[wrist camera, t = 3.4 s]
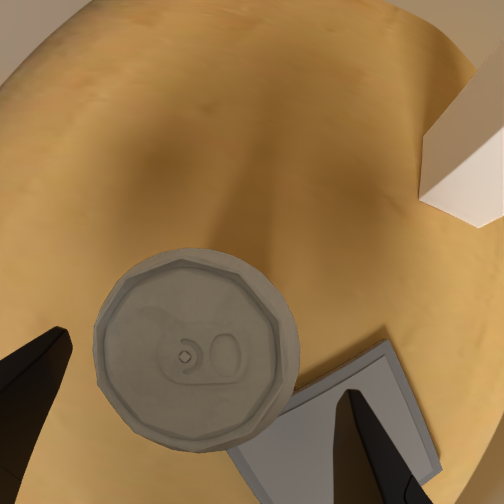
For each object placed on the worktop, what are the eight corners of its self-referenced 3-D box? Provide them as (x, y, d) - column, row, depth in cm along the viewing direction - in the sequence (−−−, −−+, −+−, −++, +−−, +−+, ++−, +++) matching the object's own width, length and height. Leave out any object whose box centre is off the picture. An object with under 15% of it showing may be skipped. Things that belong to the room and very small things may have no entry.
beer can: (175, 299, 18) (75, 242, 6) (259, 295, 18) (299, 228, 7) (180, 383, 17) (87, 459, 5) (265, 379, 17) (314, 461, 5)
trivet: (296, 548, 14) (298, 555, 13) (216, 427, 16) (215, 432, 15) (436, 466, 16) (443, 470, 15) (382, 338, 18) (389, 339, 17)
